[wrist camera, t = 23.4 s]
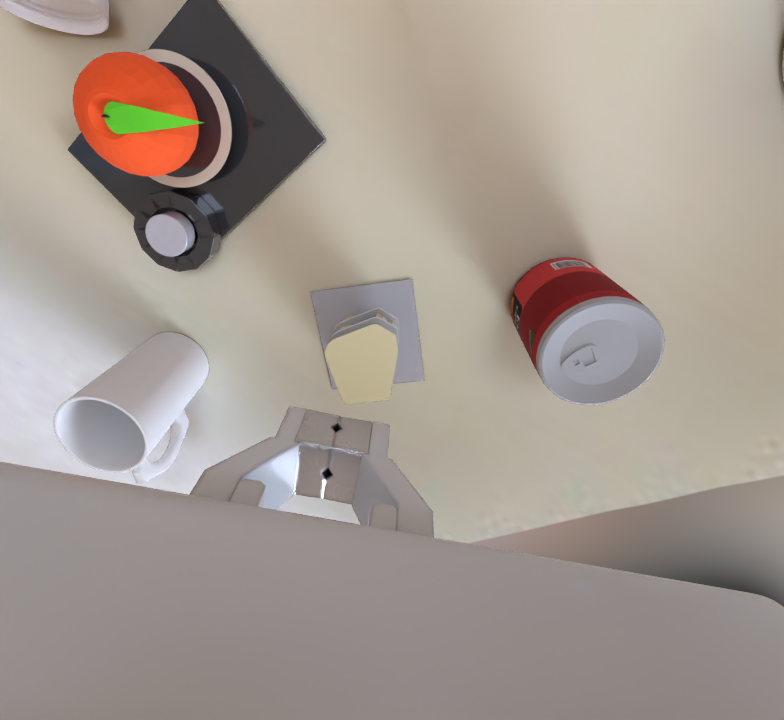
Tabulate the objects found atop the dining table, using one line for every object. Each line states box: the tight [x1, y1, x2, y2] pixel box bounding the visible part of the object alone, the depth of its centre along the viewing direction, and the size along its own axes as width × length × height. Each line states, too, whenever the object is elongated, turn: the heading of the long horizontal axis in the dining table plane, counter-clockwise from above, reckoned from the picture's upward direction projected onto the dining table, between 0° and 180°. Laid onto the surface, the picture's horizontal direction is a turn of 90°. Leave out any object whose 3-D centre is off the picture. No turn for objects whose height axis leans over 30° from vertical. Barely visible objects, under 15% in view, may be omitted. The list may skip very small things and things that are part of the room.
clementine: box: [73, 52, 204, 177], centre depth 29 cm, size 8×7×7 cm
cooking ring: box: [136, 49, 232, 188], centre depth 32 cm, size 9×9×1 cm
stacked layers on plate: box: [310, 279, 425, 404], centre depth 39 cm, size 10×9×6 cm
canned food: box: [510, 258, 665, 405], centre depth 35 cm, size 8×8×11 cm
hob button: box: [145, 211, 195, 257], centre depth 36 cm, size 3×3×2 cm
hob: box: [68, 0, 326, 272], centre depth 34 cm, size 17×13×2 cm
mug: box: [54, 332, 209, 484], centre depth 39 cm, size 10×7×12 cm, turn 10°
